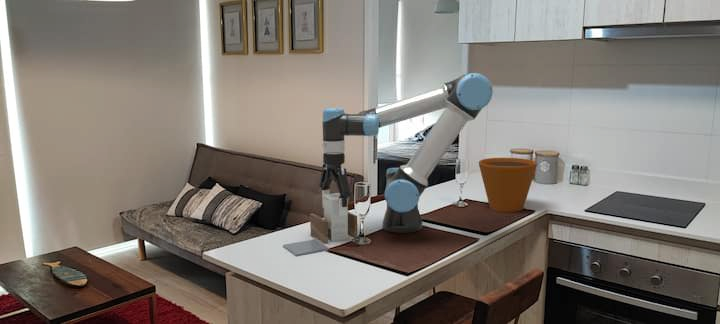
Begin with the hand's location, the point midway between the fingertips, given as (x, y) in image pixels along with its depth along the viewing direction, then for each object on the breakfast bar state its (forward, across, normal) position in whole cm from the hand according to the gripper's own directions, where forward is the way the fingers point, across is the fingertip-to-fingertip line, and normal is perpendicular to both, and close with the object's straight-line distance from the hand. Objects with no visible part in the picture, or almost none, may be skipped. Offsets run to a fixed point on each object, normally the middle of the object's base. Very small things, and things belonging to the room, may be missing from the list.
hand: (334, 211), depth 191 cm
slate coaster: (+10, +5, -14) cm, 18 cm away
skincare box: (+10, 0, 0) cm, 10 cm away
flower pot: (+9, +1, +82) cm, 82 cm away
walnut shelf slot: (+10, -2, 0) cm, 10 cm away
